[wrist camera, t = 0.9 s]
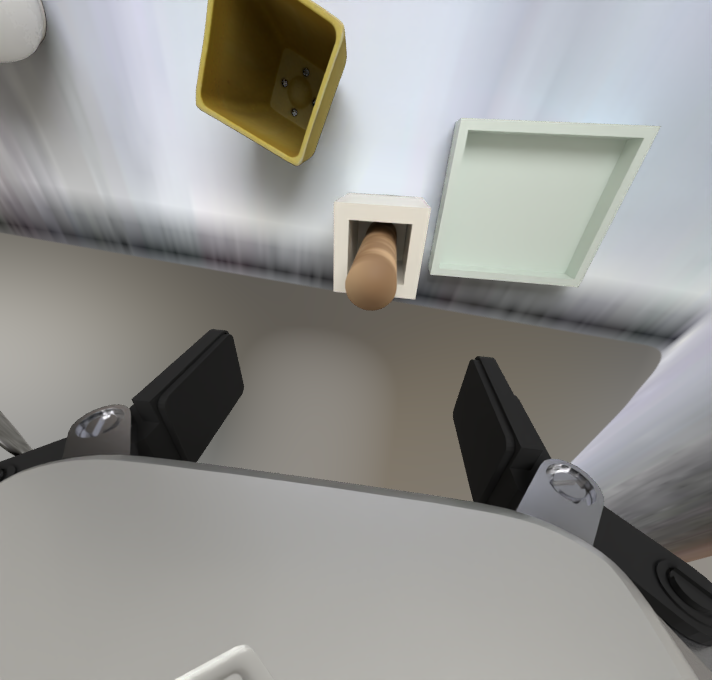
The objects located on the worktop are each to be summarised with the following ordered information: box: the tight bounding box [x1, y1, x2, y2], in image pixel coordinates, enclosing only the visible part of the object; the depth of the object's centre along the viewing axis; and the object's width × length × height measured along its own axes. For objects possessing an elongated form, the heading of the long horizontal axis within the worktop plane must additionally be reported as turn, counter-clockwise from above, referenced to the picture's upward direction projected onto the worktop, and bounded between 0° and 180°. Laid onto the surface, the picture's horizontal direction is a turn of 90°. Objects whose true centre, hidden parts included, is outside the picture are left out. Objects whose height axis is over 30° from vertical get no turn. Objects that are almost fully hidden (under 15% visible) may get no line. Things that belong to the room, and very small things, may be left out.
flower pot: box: [196, 0, 347, 166], centre depth 23 cm, size 9×9×9 cm
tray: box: [428, 118, 661, 287], centre depth 28 cm, size 16×14×3 cm
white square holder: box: [334, 193, 431, 299], centre depth 29 cm, size 8×8×9 cm
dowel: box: [345, 222, 397, 310], centre depth 25 cm, size 3×3×16 cm
